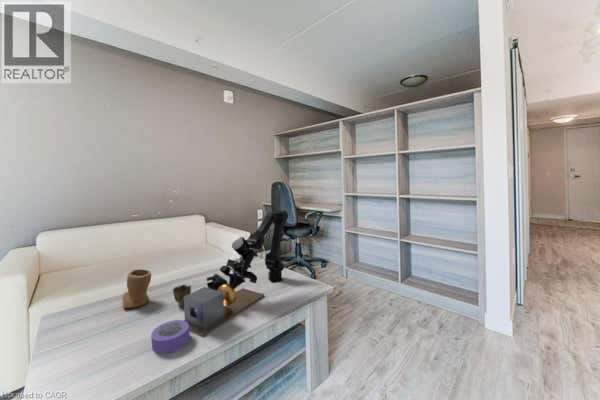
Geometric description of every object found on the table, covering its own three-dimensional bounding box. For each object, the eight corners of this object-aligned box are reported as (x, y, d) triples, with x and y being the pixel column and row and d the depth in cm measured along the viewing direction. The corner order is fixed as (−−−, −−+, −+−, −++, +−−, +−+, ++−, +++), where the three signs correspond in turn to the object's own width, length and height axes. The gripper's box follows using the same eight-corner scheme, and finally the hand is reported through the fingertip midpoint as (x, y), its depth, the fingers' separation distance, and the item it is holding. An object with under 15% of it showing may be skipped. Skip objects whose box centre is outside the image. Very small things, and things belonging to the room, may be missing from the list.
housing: (242, 290, 130) (242, 268, 129) (264, 296, 123) (263, 273, 122) (178, 325, 99) (177, 297, 98) (202, 336, 92) (201, 306, 91)
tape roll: (159, 359, 81) (158, 344, 81) (146, 343, 89) (145, 330, 89) (195, 341, 90) (194, 328, 90) (180, 328, 98) (180, 316, 97)
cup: (195, 302, 118) (194, 285, 118) (183, 309, 111) (182, 292, 111) (182, 299, 121) (181, 283, 120) (170, 307, 114) (169, 289, 113)
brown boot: (153, 304, 116) (151, 273, 115) (121, 312, 110) (119, 278, 108) (151, 292, 129) (150, 263, 127) (123, 298, 122) (121, 268, 121)
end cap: (228, 290, 130) (227, 278, 129) (214, 295, 125) (214, 281, 125) (220, 284, 137) (219, 272, 137) (206, 288, 133) (206, 275, 132)
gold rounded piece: (221, 301, 115) (220, 281, 114) (236, 305, 110) (235, 285, 110) (188, 319, 100) (187, 297, 99) (204, 325, 96) (203, 303, 95)
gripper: (221, 248, 120) (203, 279, 112) (252, 254, 111) (234, 288, 102) (234, 260, 128) (218, 290, 119) (263, 266, 118) (248, 299, 110)
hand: (228, 291), depth 112 cm, fingers closed, pressing on gold rounded piece
